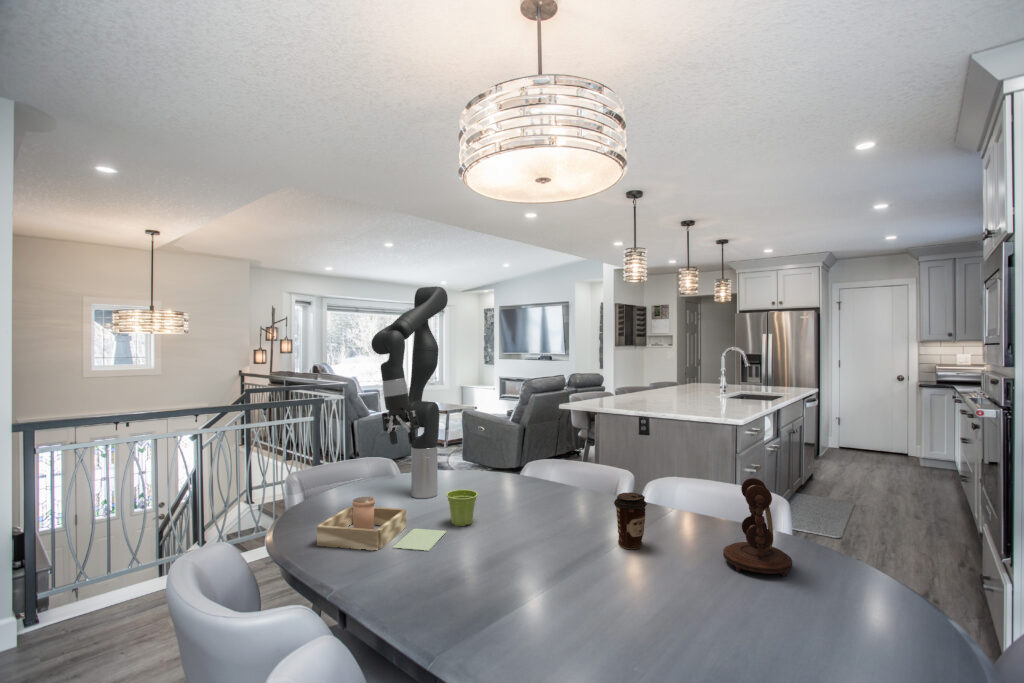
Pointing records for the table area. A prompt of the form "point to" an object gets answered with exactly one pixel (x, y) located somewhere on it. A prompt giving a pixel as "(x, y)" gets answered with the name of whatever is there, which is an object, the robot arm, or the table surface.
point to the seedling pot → (363, 512)
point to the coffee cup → (630, 519)
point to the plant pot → (462, 506)
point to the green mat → (420, 539)
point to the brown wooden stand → (757, 535)
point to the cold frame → (342, 536)
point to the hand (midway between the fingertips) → (403, 443)
